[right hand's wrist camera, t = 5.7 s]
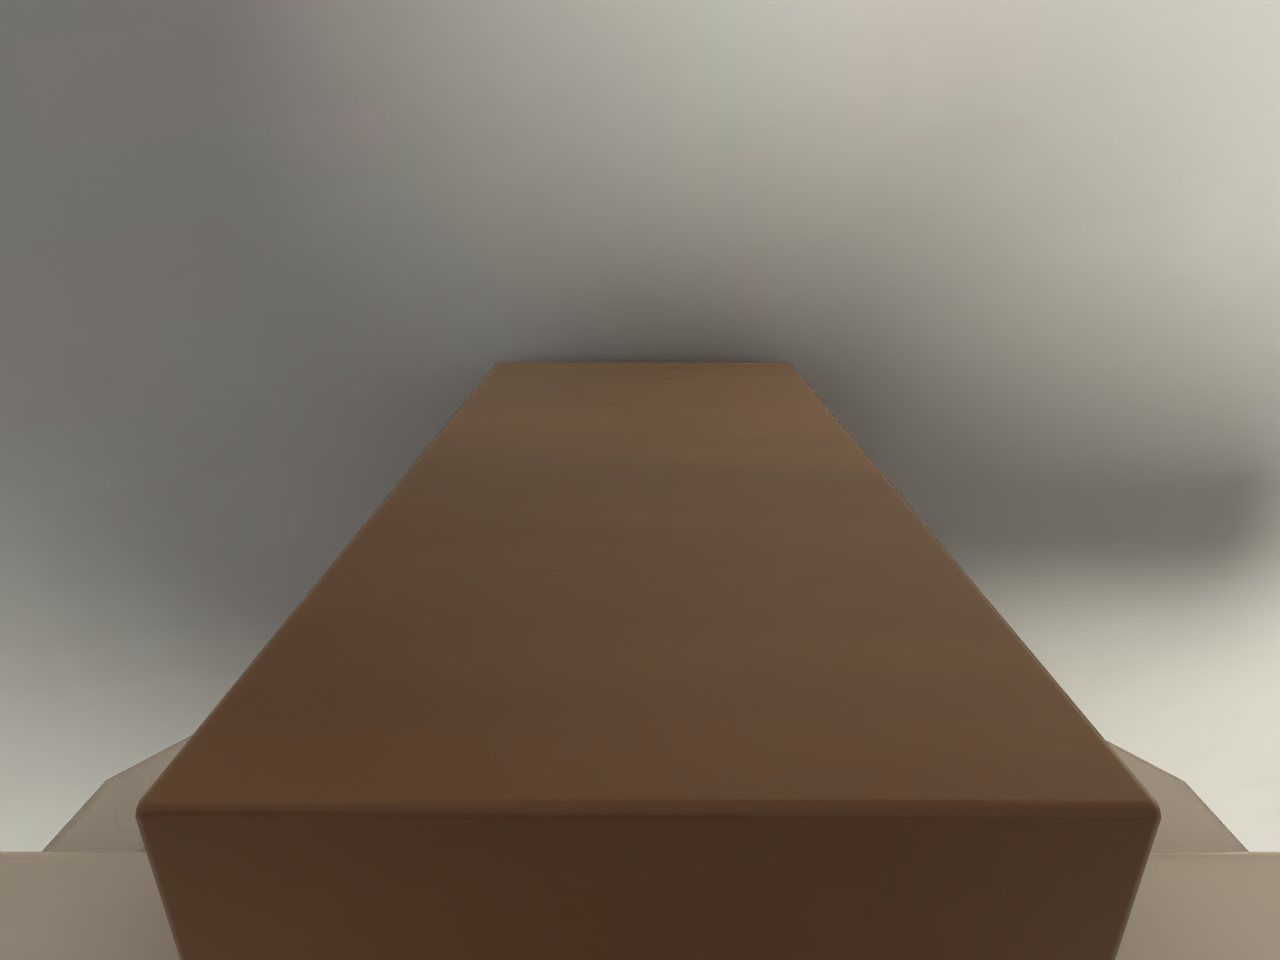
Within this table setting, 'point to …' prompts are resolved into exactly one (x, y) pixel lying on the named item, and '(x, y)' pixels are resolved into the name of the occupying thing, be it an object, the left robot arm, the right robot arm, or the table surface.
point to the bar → (646, 712)
